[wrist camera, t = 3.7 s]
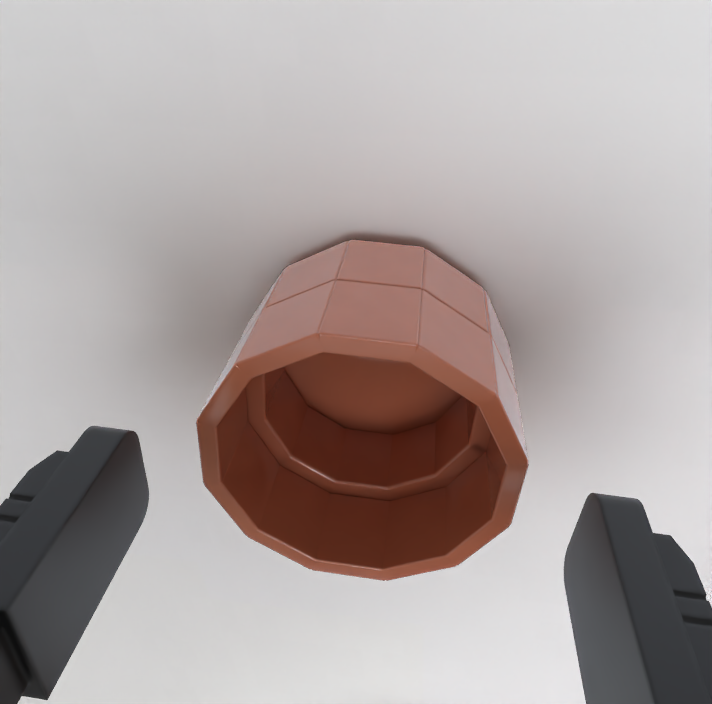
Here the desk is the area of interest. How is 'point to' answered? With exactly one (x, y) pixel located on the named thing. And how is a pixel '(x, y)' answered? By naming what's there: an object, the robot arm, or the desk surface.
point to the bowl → (368, 416)
